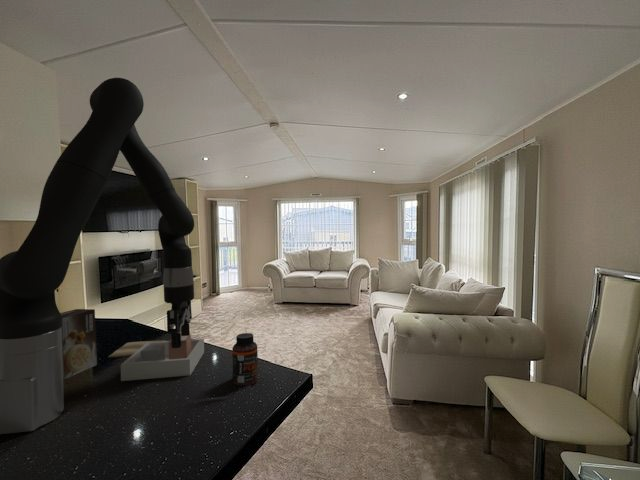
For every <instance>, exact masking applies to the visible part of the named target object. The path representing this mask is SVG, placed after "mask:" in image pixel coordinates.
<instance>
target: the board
mask: <svg viewBox="0 0 640 480" xmlns="http://www.w3.org/2000/svg"><path fill="white" fill-rule="evenodd" d="M162 341H167V340H166V339H161V340H145V341H131V342H129V341H128V342H126V343H125V344H124V345H122V346H121V347H119V348H118V349H116V350H114V352H113V353H111V354H110V355H109V356H108V357H107V358H108V359H111V358H124V357H125V358H126V357H130V356H132V355H133V354H134V353H135V352H136V351H138V350H139V349H140V348H141V347H142V346H144V345H145V344H146V343H147V342H162Z"/></svg>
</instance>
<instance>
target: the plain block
mask: <svg viewBox="0 0 640 480" xmlns="http://www.w3.org/2000/svg"><path fill="white" fill-rule="evenodd" d="M155 360H165V344H159V345H147V346H146V347H145V348H144V349H143V350H141V362H142V361H155Z"/></svg>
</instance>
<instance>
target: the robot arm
mask: <svg viewBox="0 0 640 480" xmlns="http://www.w3.org/2000/svg"><path fill="white" fill-rule="evenodd" d="M144 105H145V103H144V96H143V95H142V92H141V91H140V89H139V88H138V86H137V85H136V84H135V83H134V82H132V81H131V80H129V79H126V78H124V77H123V78H122V77H112V78H108V79H105V80H103V81H102V82H101V83H100V84H99V85H98V86H97V87H96V88H95V89H94V90H93V91H92V92H91V94H90V97H89V106H90V109H91V111H92V112H91V114H90V116H89V118H88V119H87V121H86V123H85V124H84V126H83V127H82V128H81V129H80V130H79V131H78V133H76V135H75V136H74V137H73V139H72V140H71V141H70V142H69V143H68V145H67V146H65V149H63V151H62V153H61V154H60V155H59V157H58V159H56V161H55V163H54V166H53V167H52V170H51V171H50V172H49V175H48V177H47V178H46V181H45V184H44V186H43V190H42V194H41V199H40V204H39V208H38V209H39V210H38V213H37V217H36V220H35V222H34V225H33V226H32V228H31V230H30V231H29V233H28V234H27V236H26V238H25V239H24V241H23V242H22V244H21V245H20V246H19V248H18V249H17V250H15V251H11V252H8V253H7V254H5V255H3V256H2V257H0V435H6V434H15V433H16V434H17V433H26V432H33V431H35V430H36V429H38V428H40V427H41V426H44V425H46V424H49V423H50V422H52V421H54V420H56V419H57V418H59V417H60V416H61V415H62V414H63V413H64V408H65V406H64V405H65V404H64V403H65V400H64V399H65V398H64V394H65V393H64V379H63V361H62V320H61V314H60V313H61V312H60V310H59V308H58V306H57V302H56V293H55V291H56V290H57V289H59V288H60V287H61V285H62V283H63V282H64V280H65V278H66V276H67V273H68V269H69V267H70V265H71V264H70V263H71V260H72V258H73V255H74V252H75V249H76V246H77V242H78V240H79V238H80V235H81V234H82V231H83V230H84V228H85V226H86V224H87V222H88V221H89V219H90V217H91V215H92V212H93V210H94V209H95V207H96V205H97V203H98V202H99V199H100V197H101V196H102V194H103V191H104V190H105V187H106V185H107V182H108V180H109V178H110V175H111V173H112V171H113V169H114V166H115V164H116V162H117V159H118V157H119V154H120V153H121V155H123V157H124V158H125V160H126V162H127V164H128V165H129V167H130V168H131V170H132V172H133V174H134V175H135V177H136V180H137V181H138V183H139V185H140V187H141V189H142V191H143V192H144V194H145V197H146V199H147V200H148V201H149V203H150V204H151V205H152V206H154V207H155V208H157V209H158V210H159V212H160V213H161V216H160V217H159V219H158V223H157V225H158V227H157V229H158V231H157V232H158V235H159V241H160V245H161V248H162V251H163V252H162V253H163V277H162V281H163V299H164V300H163V301H164V302H165V303H167V304H171V309H169V310H166V333H167V335H170V338H171V339H170V340H171V344H172V348H180V347H181V336H188V335H191V333H190V331H191V330H190V323H191V320H192V318H193V316H192V315H193V314H192V301H193V300H194V299H195V286H194V285H195V283H194V271H193V261H192V260H193V258H192V250H191V248H190V246H188V244H186V238H185V237H186V236H188V235H190V234H191V233H192V232H193V230H194V229H195V219H194V216H193V214H192V211H191V210H190V209H189V207H188V206H187V205H186V203H185V202H184V201H183V199H182V198H181V197H180V196H179V195H178V193H177V191H176V189H175V187H174V185H173V182H172V181H171V178H170V177H169V175H168V173H167V171H166V169H165V167H164V166H163V164H162V163H161V162H160V161H159V160H158V158H156V156H155V155H154V154H153V153H152V152H151V151H150V150H149V149H148V147H147V146H146V145H145V143H144V142H143V140H142V138H141V137H140V135H139V132H138V131H137V128H136V126H135V124H136V122H137V121H138V119H139V118H140V116H141V115H142V113H143V111H144ZM174 327H175V328H174Z"/></svg>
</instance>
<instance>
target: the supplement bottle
mask: <svg viewBox="0 0 640 480" xmlns="http://www.w3.org/2000/svg"><path fill="white" fill-rule="evenodd" d="M235 337H236V340H235V341H236V342H235V344H234V345H233V346H232V351H231V352H232V353H231V354H232V355H231V357H232V383H233V384H234V385H236V386H247V385H251V386H253V385H254V384H256V383H257V382H258V379H259V378H258V377H259V375H258V374H259V373H258V371H259V367H258V365H259V364H258V360H259V359H258V357H259V355H258V354H259V353H258V344H257V343H256V342H255V341H254V334H253V333H249V332H246V333H245V332H244V333H240V334H237V335H236V336H235Z"/></svg>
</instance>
